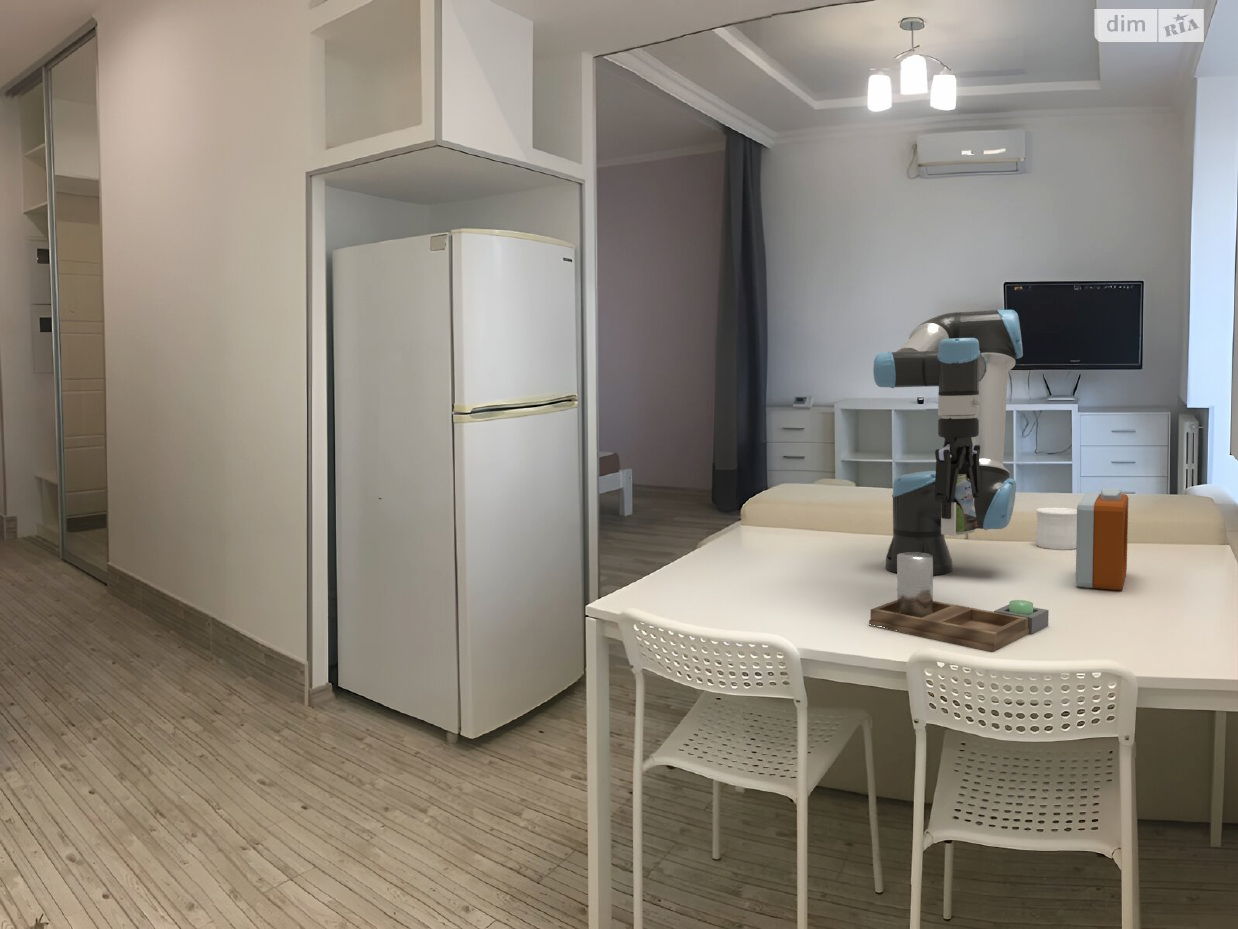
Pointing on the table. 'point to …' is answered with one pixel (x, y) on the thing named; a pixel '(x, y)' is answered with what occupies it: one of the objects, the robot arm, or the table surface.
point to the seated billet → (915, 584)
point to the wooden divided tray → (955, 625)
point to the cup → (1056, 528)
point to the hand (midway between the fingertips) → (957, 532)
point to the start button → (1021, 607)
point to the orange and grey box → (1102, 540)
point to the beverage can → (964, 506)
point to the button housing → (1030, 618)
